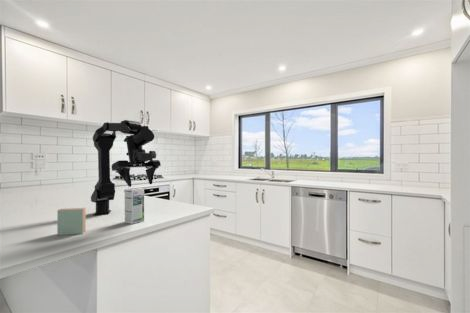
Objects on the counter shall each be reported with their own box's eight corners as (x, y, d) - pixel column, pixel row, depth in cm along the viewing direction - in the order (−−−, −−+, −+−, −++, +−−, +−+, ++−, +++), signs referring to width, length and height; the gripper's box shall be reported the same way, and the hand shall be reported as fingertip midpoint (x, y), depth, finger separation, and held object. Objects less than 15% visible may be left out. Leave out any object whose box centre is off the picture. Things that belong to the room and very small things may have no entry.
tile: (60, 233, 77) (61, 208, 77) (85, 231, 79) (85, 207, 79) (56, 235, 75) (57, 210, 75) (82, 233, 76) (82, 209, 76)
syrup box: (132, 224, 87) (132, 189, 87) (123, 222, 90) (124, 188, 90) (144, 221, 92) (144, 187, 92) (136, 218, 95) (136, 186, 95)
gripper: (123, 141, 77) (129, 183, 75) (165, 144, 93) (171, 179, 90) (108, 150, 83) (113, 189, 80) (150, 151, 98) (156, 184, 96)
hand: (141, 185), depth 87 cm, fingers open, 9 cm apart
